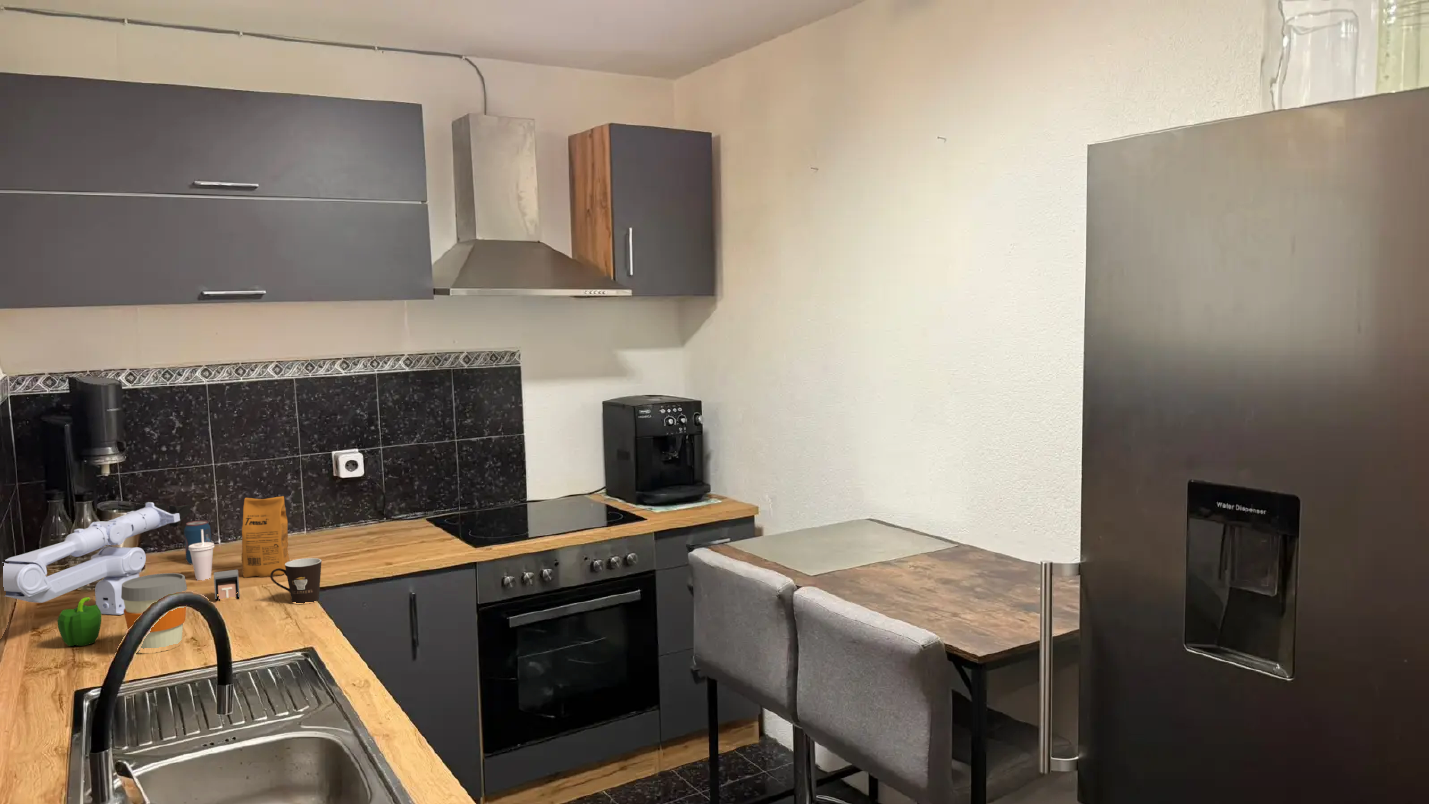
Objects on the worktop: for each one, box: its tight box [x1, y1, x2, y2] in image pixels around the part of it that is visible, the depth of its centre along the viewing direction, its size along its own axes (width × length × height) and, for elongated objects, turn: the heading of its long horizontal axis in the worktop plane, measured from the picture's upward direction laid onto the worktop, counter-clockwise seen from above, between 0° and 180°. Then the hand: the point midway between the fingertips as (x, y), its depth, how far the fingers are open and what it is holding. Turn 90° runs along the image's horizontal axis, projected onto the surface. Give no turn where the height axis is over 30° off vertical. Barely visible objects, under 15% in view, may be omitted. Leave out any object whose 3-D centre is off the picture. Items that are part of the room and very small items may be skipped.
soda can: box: [183, 520, 212, 565], centre depth 284 cm, size 7×7×12 cm
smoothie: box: [188, 529, 215, 581], centre depth 265 cm, size 6×6×14 cm
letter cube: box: [218, 580, 237, 600], centre depth 246 cm, size 4×4×4 cm
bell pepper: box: [56, 596, 102, 647], centre depth 213 cm, size 8×8×10 cm
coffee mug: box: [270, 557, 322, 603], centre depth 243 cm, size 12×9×10 cm
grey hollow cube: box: [213, 569, 241, 600], centre depth 246 cm, size 6×6×6 cm
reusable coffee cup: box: [121, 572, 188, 652], centre depth 210 cm, size 13×13×15 cm
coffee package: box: [241, 495, 291, 579], centre depth 269 cm, size 10×12×22 cm
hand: (177, 508), depth 256 cm, fingers open, 7 cm apart
